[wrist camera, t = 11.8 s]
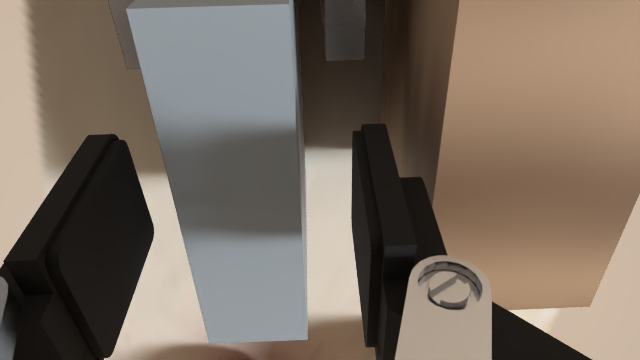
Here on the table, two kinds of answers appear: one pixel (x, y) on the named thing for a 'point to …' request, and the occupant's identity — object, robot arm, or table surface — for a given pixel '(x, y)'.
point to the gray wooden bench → (337, 18)
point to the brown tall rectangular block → (519, 134)
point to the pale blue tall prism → (233, 155)
